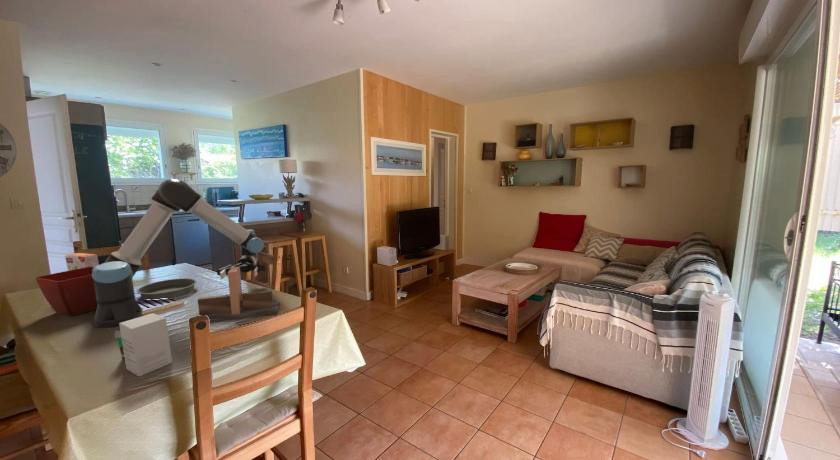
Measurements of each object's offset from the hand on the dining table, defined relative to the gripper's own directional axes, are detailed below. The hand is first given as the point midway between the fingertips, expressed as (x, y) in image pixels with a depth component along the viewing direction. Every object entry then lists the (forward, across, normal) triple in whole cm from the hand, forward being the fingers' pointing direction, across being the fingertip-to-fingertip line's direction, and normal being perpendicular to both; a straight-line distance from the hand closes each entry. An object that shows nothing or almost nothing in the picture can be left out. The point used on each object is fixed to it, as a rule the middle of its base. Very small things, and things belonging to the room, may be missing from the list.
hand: (238, 274), depth 153 cm
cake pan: (-33, +38, -15) cm, 53 cm away
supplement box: (+46, +18, -15) cm, 52 cm away
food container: (+35, +24, -15) cm, 45 cm away
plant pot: (-20, +68, -15) cm, 72 cm away
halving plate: (+8, 0, -14) cm, 16 cm away
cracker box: (-44, +77, -15) cm, 90 cm away
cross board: (+8, 0, -15) cm, 17 cm away
